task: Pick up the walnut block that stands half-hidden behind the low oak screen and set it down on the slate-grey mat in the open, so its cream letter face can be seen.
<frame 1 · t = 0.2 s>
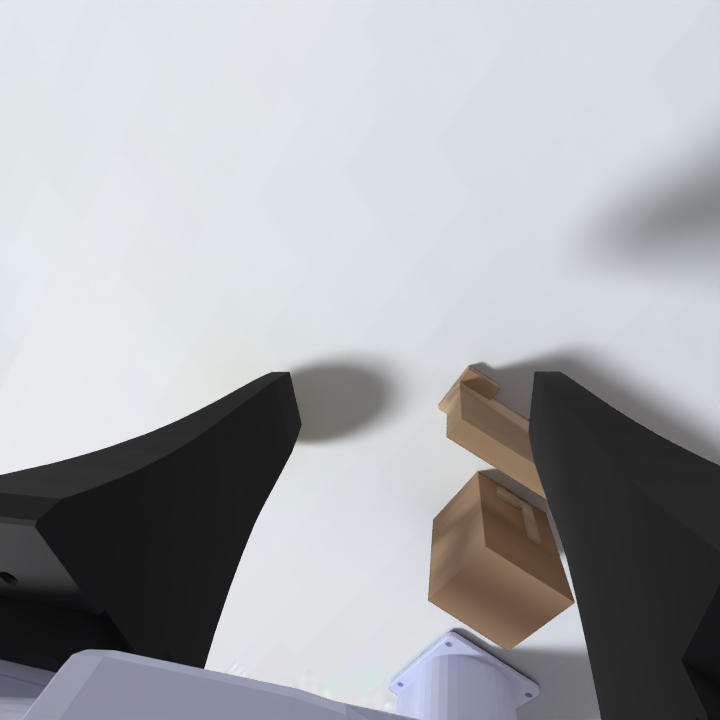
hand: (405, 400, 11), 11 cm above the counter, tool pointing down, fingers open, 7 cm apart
screen: (555, 449, 22), on the counter
letter block: (487, 516, 24), on the counter
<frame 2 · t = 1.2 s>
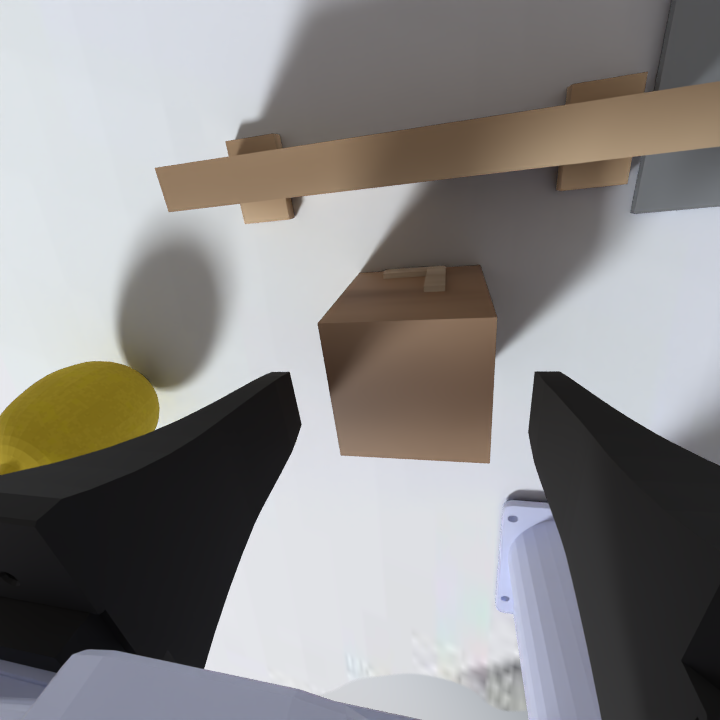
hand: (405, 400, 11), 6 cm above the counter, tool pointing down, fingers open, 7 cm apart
screen: (412, 161, 14), on the counter
lemon: (147, 379, 22), on the counter
letter block: (420, 324, 17), on the counter
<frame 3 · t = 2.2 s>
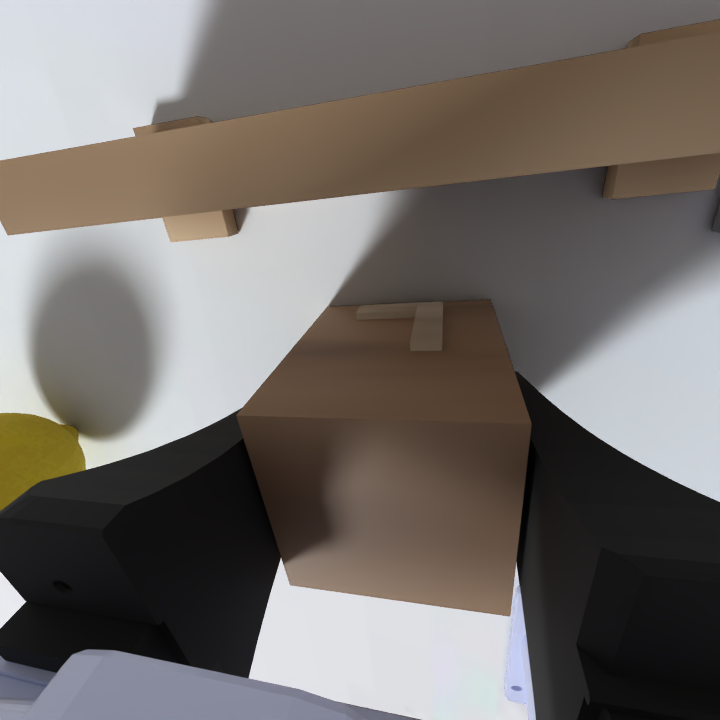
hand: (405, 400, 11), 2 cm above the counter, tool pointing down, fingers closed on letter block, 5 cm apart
screen: (396, 156, 10), on the counter
lemon: (77, 426, 18), on the counter
letter block: (409, 374, 12), on the counter, touching gripper
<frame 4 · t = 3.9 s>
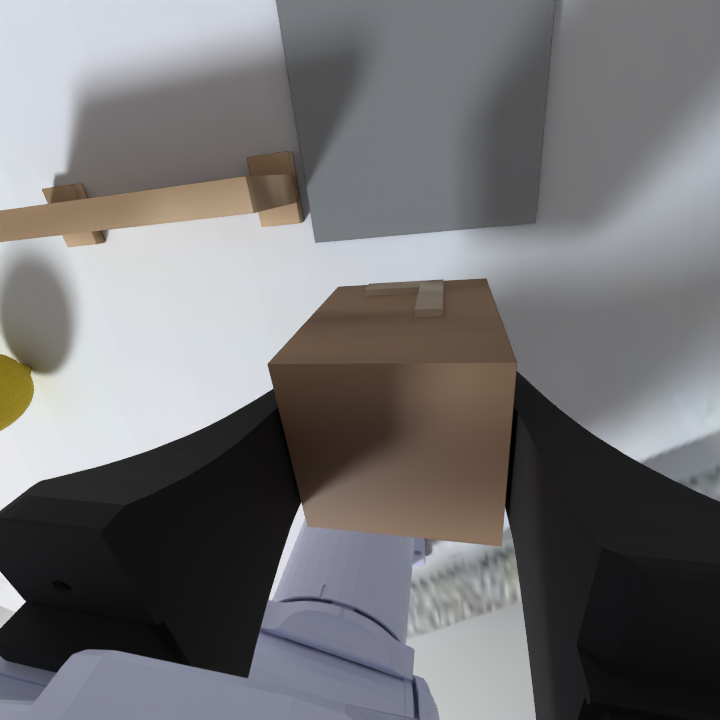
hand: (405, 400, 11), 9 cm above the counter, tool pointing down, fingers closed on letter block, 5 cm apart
screen: (171, 204, 19), on the counter
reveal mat: (412, 104, 15), on the counter
lemon: (31, 366, 27), on the counter
letter block: (412, 349, 14), point 6 cm above the counter, touching gripper
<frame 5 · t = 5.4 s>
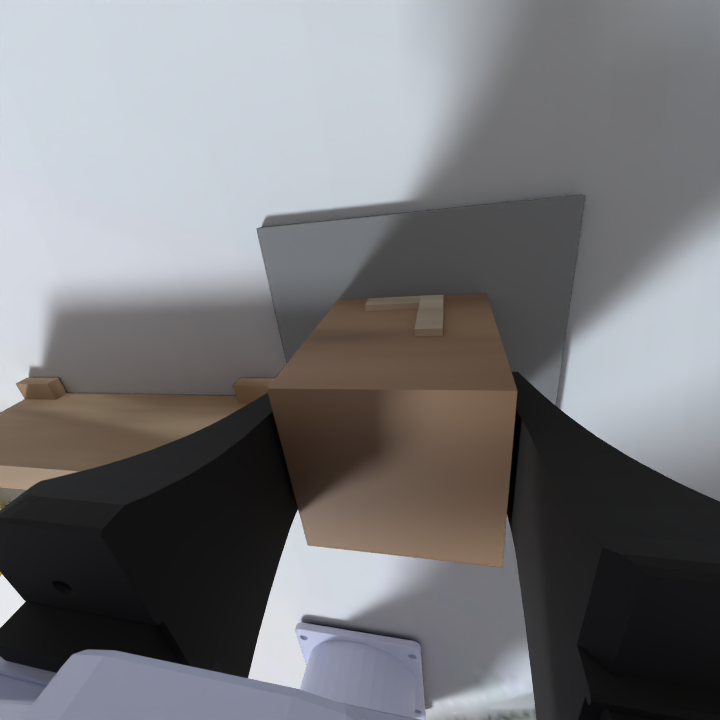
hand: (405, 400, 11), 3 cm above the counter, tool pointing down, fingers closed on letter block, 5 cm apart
screen: (154, 405, 18), on the counter
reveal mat: (413, 355, 14), on the counter
letter block: (412, 362, 14), resting on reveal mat, touching gripper
when the fingers open (3 cm above the counter, at t = 6.0 s): letter block stays where it is, resting on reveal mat.
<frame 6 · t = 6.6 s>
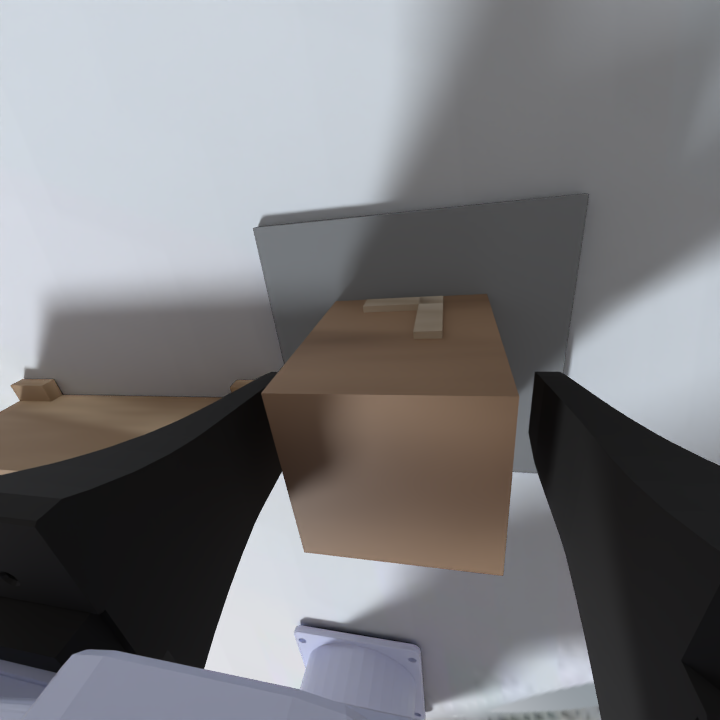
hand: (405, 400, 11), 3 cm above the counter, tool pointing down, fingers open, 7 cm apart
screen: (151, 406, 18), on the counter
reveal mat: (412, 357, 14), on the counter
letter block: (411, 364, 13), resting on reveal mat
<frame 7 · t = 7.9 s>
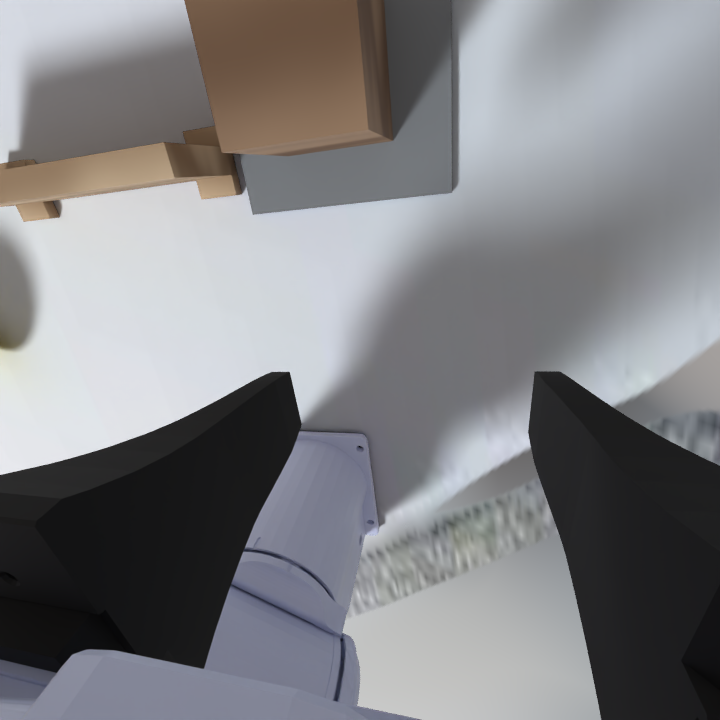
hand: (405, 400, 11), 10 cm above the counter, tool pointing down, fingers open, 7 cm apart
screen: (118, 178, 20), on the counter
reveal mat: (332, 79, 16), on the counter
letter block: (330, 82, 16), resting on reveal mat
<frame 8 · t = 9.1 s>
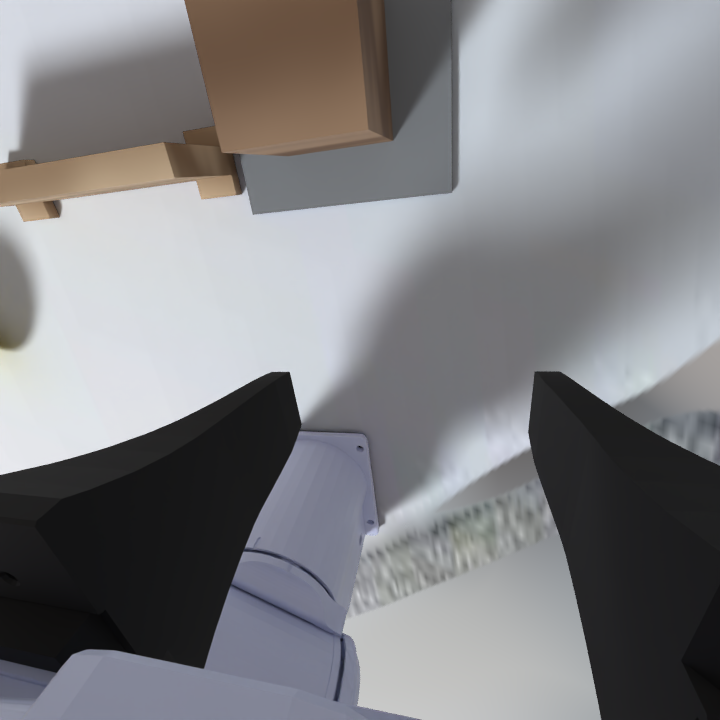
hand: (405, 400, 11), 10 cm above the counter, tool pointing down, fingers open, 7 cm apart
screen: (118, 178, 20), on the counter
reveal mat: (332, 79, 16), on the counter
letter block: (330, 82, 16), resting on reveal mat
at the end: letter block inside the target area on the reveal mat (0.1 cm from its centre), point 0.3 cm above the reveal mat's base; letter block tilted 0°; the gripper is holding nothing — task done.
